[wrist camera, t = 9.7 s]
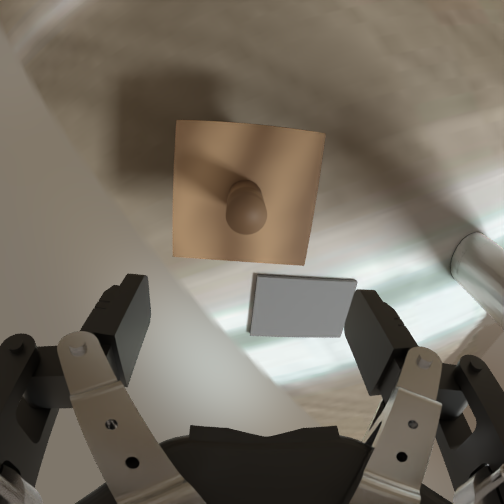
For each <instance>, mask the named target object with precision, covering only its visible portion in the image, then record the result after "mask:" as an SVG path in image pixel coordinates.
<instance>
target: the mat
mask: <svg viewBox="0 0 504 504" xmlns="http://www.w3.org/2000/svg"><path fill="white" fill-rule="evenodd" d="M356 286H357V281H356V280H343V279H323V278H305V277H288V276H272V275H257V281H256V290H255V298H254V306H253V314H252V322H251V330H250V336H272V337H340V336H341V333H342V330H343V327H344V324H345V320H346V317H347V314H348V311H349V308H350V304H351V301H352V298H353V295H354V292H355V289H356Z"/></svg>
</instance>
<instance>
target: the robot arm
mask: <svg viewBox="0 0 504 504" xmlns="http://www.w3.org/2000/svg"><path fill="white" fill-rule="evenodd" d="M451 273H452V276H453V278H454V279H455V280H456V281H457V282H458V283H459V284H460V285H461V286H462V287H463V288H464V289H465V290H466V291H467V292H468V293H469V294H470V295H471V296H472V297H473V298H474V299H475V300H476V301H477V302H478V303H479V304H480V305H481V307H482V308H483V309H484V310H485V311H486V312H487V313H488V314H489V315H490V316H491V317H492V318H493V319H494V320H495V321H496V323H497V324H498V325H499V326H500V327H501V328H502V329H503V330H504V248H502V247H501V246H500V245H498V244H497V243H496V242H494V241H493V240H491V239H490V238H488V237H487V236H485V235H484V234H482V233H479V232H477V233H472V234H470V235H468V236H467V237H465V238H464V239H463V240H462V241H461V243H460V244H459V245H458V247H457V248H456V250H455V252H454V255H453V257H452V261H451ZM150 318H151V307H150V297H149V285H148V277H147V276H146V275H138V274H127V275H126V277H125V278H124V280H123V281H122V283H121V284H120V286H118V285H113V286H112V287H110V288H109V289H108V290H106V291H105V292H104V293H103V295H102V296H101V298H100V299H99V302H98V303H97V304H96V306H95V309H93V310H92V312H91V314H90V315H89V317H88V318H87V320H86V322H85V323H84V325H83V326H82V328H81V330H80V331H77V332H72V333H69V334H67V335H66V336H64V337H63V338H62V339H61V340H60V341H59V344H58V346H44V347H37V346H36V343H35V341H34V339H33V338H32V337H31V336H30V335H27V334H15V335H13V336H10V337H9V338H7V339H6V340H5V341H4V342H3V343H2V344H1V346H0V504H42V499H41V496H40V494H39V493H38V491H37V490H36V489H35V484H36V480H37V476H38V473H39V469H40V466H41V462H42V459H43V456H44V453H45V449H46V446H47V443H48V440H49V437H50V434H51V431H52V428H53V425H54V422H55V419H56V416H57V414H58V411H59V408H73V409H74V412H75V415H76V417H77V420H78V422H79V425H80V427H81V430H82V432H83V435H84V437H85V440H86V441H87V444H88V446H89V448H90V451H91V453H92V455H93V457H94V459H95V462H96V464H97V466H98V468H99V470H100V472H101V473H102V476H103V478H104V480H105V481H106V482H105V483H104V484H103V485H101V486H100V487H98V488H97V489H96V490H94V491H93V492H91V493H90V494H88V495H87V496H86V497H84V498H83V499H81V500H80V501H78V502H77V503H75V504H504V392H503V390H502V388H501V387H500V385H499V383H498V382H497V380H496V379H495V377H494V376H493V374H492V372H491V371H490V369H489V368H488V366H487V365H486V364H485V362H483V361H482V360H481V359H480V358H478V357H476V356H473V355H464V356H463V357H461V359H460V361H459V362H458V364H457V365H451V364H445V363H442V361H441V359H440V357H439V356H438V355H437V354H436V353H435V352H433V351H432V350H430V349H428V348H425V347H419V346H418V345H417V343H416V342H415V340H414V339H413V337H412V335H411V334H410V332H409V331H408V329H407V328H406V326H404V323H403V322H402V320H401V319H400V317H399V316H398V314H397V313H396V311H395V310H394V309H393V308H392V307H390V306H389V305H388V304H387V303H385V302H383V301H382V300H381V298H380V297H379V295H378V294H377V292H376V291H375V290H356V291H355V292H354V295H353V298H352V301H351V304H350V308H349V311H348V314H347V317H346V320H345V326H344V331H345V336H346V339H347V341H348V343H349V346H350V348H351V351H352V353H353V356H354V358H355V360H356V363H357V365H358V368H359V370H360V373H361V375H362V378H363V380H364V383H365V385H366V388H367V391H368V393H369V396H373V395H382V400H381V402H380V403H379V406H378V408H377V410H376V412H375V415H374V417H373V419H372V421H371V423H370V425H369V427H368V430H367V432H366V434H365V436H364V438H363V439H362V441H359V440H356V439H353V438H350V437H345V436H340V435H339V432H338V428H337V426H328V427H316V428H315V427H314V428H302V429H298V430H294V431H290V432H286V433H283V434H278V435H274V436H269V437H264V436H259V435H254V434H249V433H246V432H241V431H237V430H233V429H229V428H218V427H204V426H193V425H191V426H190V434H189V435H186V436H180V437H175V438H172V439H169V440H166V441H163V442H161V443H159V444H158V442H157V441H156V439H155V437H154V436H153V434H152V433H151V431H150V430H149V428H148V426H147V425H146V423H145V422H144V420H143V418H142V417H141V415H140V414H139V412H138V410H137V408H136V407H135V405H134V403H133V401H132V400H131V398H130V396H129V394H128V393H127V391H126V389H125V387H128V384H129V381H130V378H131V375H132V372H133V369H134V366H135V363H136V360H137V358H138V355H139V351H140V349H141V346H142V343H143V341H144V338H145V335H146V332H147V329H148V327H149V323H150ZM468 404H469V406H470V408H471V410H472V412H473V414H474V416H475V417H476V421H477V424H476V429H475V431H474V432H473V433H472V432H471V430H470V427H469V425H468V423H467V421H466V419H465V417H464V415H463V413H462V412H463V411H464V409H465V408H466V407H467V405H468ZM17 406H18V407H17ZM435 437H436V440H437V443H438V445H439V448H440V450H441V453H442V456H443V458H444V461H445V464H446V467H447V470H448V472H449V476H450V479H451V481H452V485H453V488H454V491H455V494H454V498H453V503H451V502H450V501H448V500H447V499H445V498H443V497H442V496H440V495H439V494H437V493H436V492H434V491H433V490H431V489H430V488H428V487H427V486H425V485H424V484H422V481H423V478H424V475H425V472H426V469H427V465H428V462H429V458H430V455H431V451H432V447H433V444H434V440H435Z"/></svg>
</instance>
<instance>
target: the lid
mask: <svg viewBox="0 0 504 504" xmlns="http://www.w3.org/2000/svg"><path fill="white" fill-rule="evenodd" d="M325 136H326V134H325V133H320V132H313V131H307V130H300V129H292V128H285V127H276V126H268V125H258V124H247V123H235V122H220V121H201V120H176V134H175V153H174V178H173V257H186V258H200V259H214V260H228V261H242V262H257V263H272V264H287V265H302V266H304V264H305V259H306V254H307V248H308V243H309V237H310V232H311V226H312V220H313V215H314V209H315V203H316V197H317V190H318V184H319V178H320V171H321V164H322V157H323V150H324V143H325Z"/></svg>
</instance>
